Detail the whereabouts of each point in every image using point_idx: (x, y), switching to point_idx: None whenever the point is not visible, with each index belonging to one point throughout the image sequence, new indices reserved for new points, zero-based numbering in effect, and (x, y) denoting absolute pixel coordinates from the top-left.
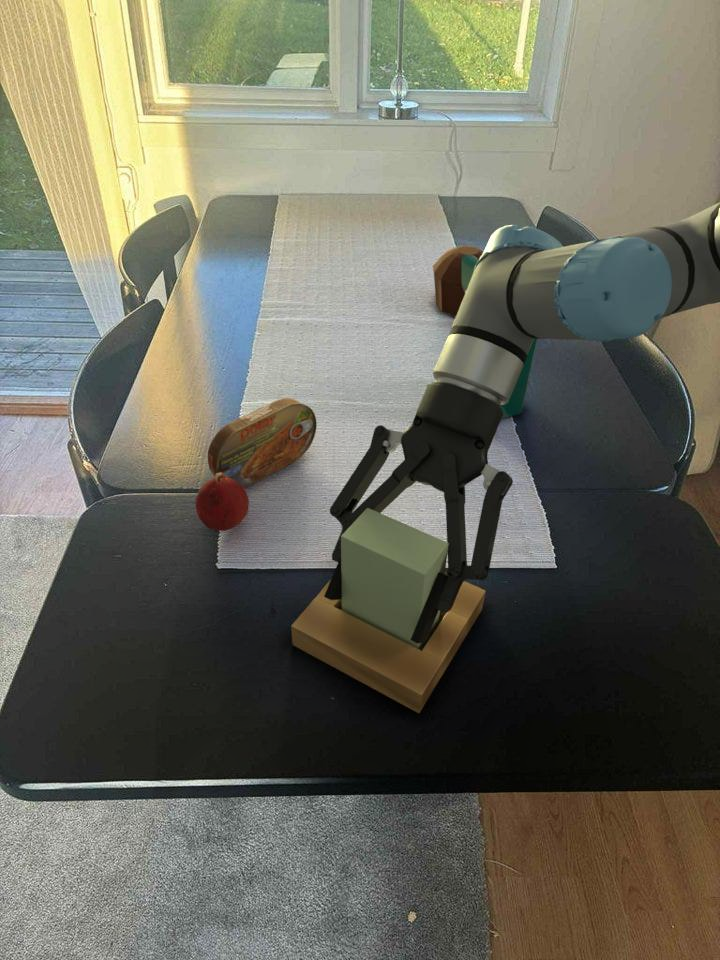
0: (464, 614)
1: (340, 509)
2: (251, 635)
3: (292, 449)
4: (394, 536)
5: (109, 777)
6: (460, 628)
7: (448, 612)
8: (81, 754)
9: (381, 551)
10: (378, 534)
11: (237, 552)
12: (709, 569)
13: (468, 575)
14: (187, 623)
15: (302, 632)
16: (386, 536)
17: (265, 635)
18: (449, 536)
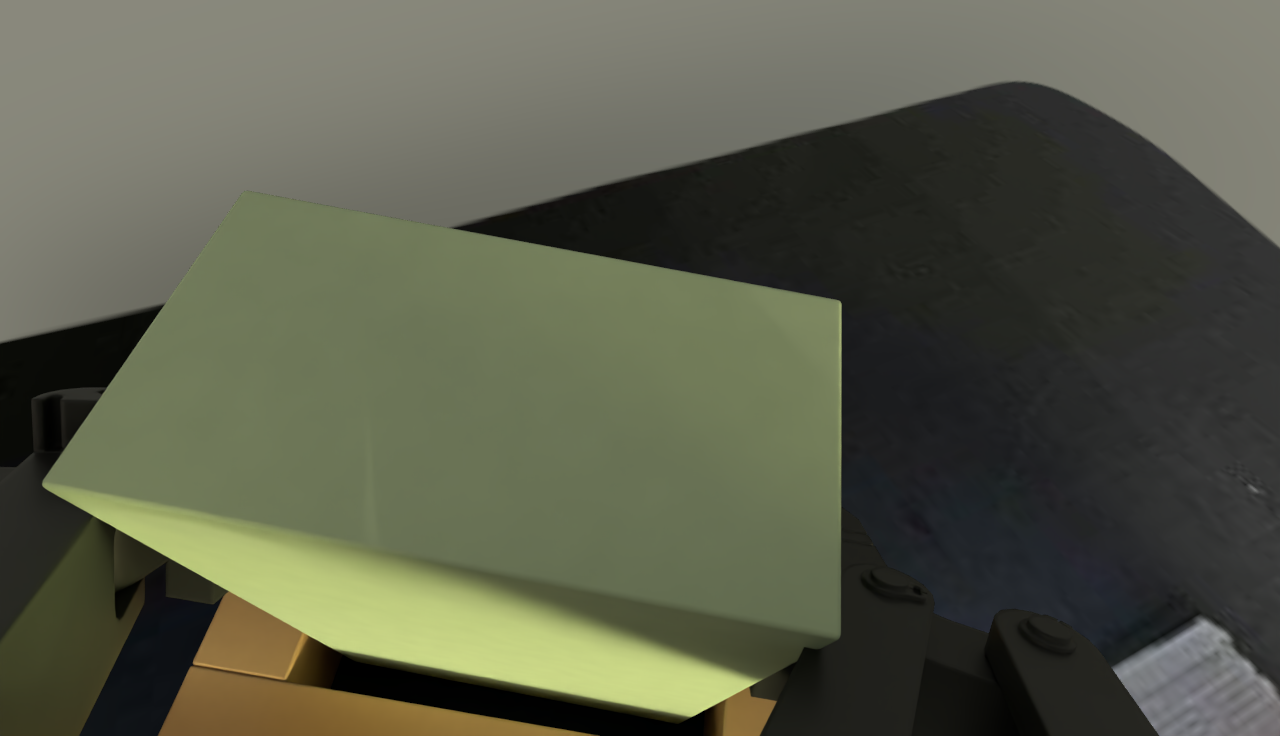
0: (210, 681)
1: (1024, 649)
2: (910, 422)
3: None
4: (506, 406)
5: (906, 106)
6: (230, 597)
7: (285, 661)
8: (978, 120)
9: (551, 268)
10: (623, 381)
11: (1226, 726)
12: None
13: (2, 479)
14: (1080, 396)
15: None
16: (563, 388)
17: (877, 436)
18: (24, 575)
